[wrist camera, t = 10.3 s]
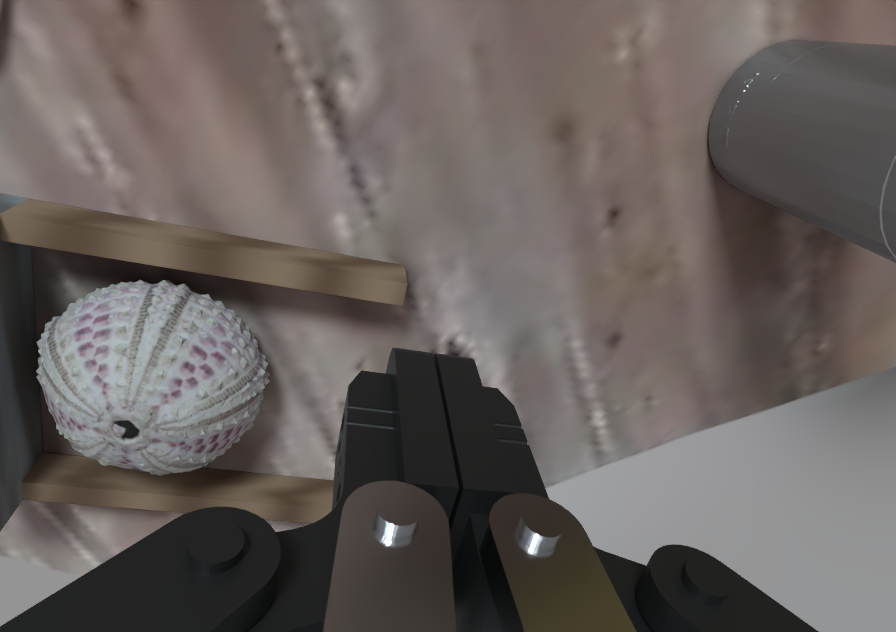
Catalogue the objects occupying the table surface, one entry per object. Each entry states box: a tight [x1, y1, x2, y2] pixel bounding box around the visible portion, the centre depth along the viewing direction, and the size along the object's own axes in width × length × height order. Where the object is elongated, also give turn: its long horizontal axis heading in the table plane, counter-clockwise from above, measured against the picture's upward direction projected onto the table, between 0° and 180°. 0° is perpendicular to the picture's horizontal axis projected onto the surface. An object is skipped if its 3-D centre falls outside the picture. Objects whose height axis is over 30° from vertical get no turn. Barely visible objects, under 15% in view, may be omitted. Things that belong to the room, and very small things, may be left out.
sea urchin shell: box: [36, 280, 270, 475], centre depth 36 cm, size 13×14×8 cm
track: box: [0, 194, 408, 531], centre depth 38 cm, size 25×20×6 cm
